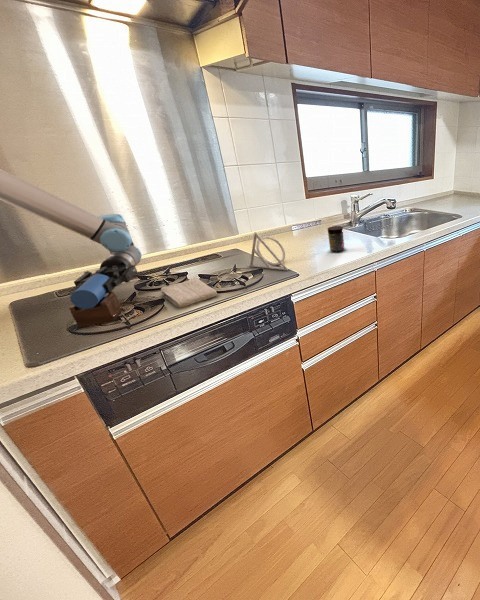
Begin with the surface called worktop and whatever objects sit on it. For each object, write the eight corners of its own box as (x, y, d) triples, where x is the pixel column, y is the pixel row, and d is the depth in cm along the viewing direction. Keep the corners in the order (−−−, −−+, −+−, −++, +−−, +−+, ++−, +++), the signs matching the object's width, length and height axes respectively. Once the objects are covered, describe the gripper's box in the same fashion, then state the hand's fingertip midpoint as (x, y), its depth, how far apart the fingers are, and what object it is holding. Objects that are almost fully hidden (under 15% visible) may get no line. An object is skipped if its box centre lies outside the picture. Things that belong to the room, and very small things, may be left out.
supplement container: (342, 253, 144) (340, 230, 140) (328, 252, 145) (325, 229, 141) (346, 248, 150) (344, 226, 146) (332, 248, 151) (330, 226, 147)
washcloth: (197, 283, 116) (195, 275, 115) (220, 296, 106) (217, 288, 104) (159, 294, 108) (156, 286, 107) (180, 310, 98) (176, 301, 96)
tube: (93, 292, 98) (85, 275, 96) (116, 289, 100) (108, 272, 98) (75, 310, 88) (66, 292, 85) (101, 306, 90) (92, 288, 87)
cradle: (89, 315, 96) (80, 296, 93) (122, 309, 99) (114, 291, 96) (78, 327, 89) (68, 307, 87) (114, 321, 92) (105, 301, 90)
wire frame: (283, 267, 144) (304, 254, 135) (265, 283, 134) (287, 270, 126) (253, 234, 137) (275, 218, 128) (233, 248, 127) (254, 232, 119)
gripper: (153, 271, 117) (137, 296, 98) (88, 280, 110) (57, 309, 91) (146, 251, 113) (127, 273, 94) (78, 259, 107) (43, 284, 88)
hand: (93, 290), depth 93 cm, fingers closed on tube, 6 cm apart
